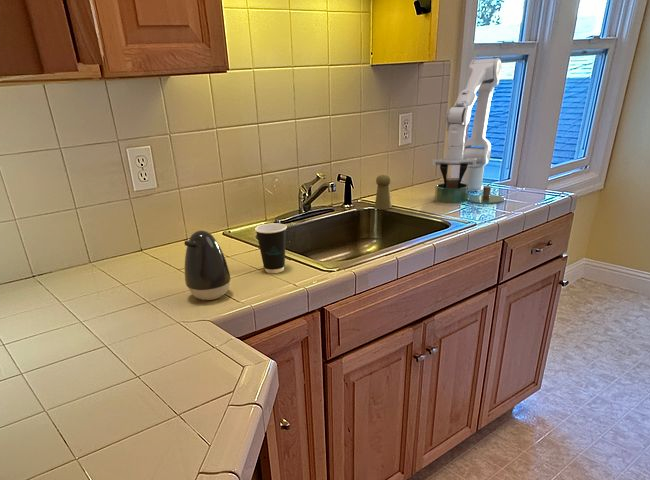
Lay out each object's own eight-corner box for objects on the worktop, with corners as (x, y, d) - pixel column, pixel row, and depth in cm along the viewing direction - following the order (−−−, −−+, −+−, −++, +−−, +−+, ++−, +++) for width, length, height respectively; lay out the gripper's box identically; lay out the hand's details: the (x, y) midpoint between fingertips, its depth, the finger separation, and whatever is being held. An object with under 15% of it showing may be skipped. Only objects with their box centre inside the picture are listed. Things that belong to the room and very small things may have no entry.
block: (446, 189, 182) (447, 177, 180) (457, 189, 181) (458, 177, 179) (445, 191, 178) (446, 180, 176) (457, 191, 177) (458, 180, 175)
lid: (467, 197, 185) (469, 183, 182) (503, 197, 181) (505, 183, 179) (466, 205, 175) (468, 190, 172) (504, 205, 171) (506, 190, 169)
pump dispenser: (178, 301, 114) (165, 235, 106) (206, 285, 122) (196, 223, 114) (214, 307, 110) (203, 239, 102) (241, 290, 117) (232, 226, 110)
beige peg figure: (371, 207, 181) (371, 175, 176) (385, 204, 183) (386, 172, 178) (380, 210, 176) (381, 177, 171) (394, 207, 178) (395, 175, 173)
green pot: (435, 197, 188) (436, 182, 185) (467, 197, 185) (469, 182, 182) (433, 204, 178) (434, 189, 176) (466, 205, 175) (468, 189, 172)
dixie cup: (272, 277, 124) (267, 233, 118) (253, 270, 129) (248, 228, 124) (296, 269, 128) (293, 226, 123) (277, 262, 134) (273, 221, 128)
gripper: (433, 147, 171) (430, 188, 178) (477, 146, 167) (473, 188, 174) (434, 144, 177) (431, 184, 183) (477, 143, 173) (473, 184, 179)
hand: (452, 186), depth 179 cm, fingers closed on block, 4 cm apart
